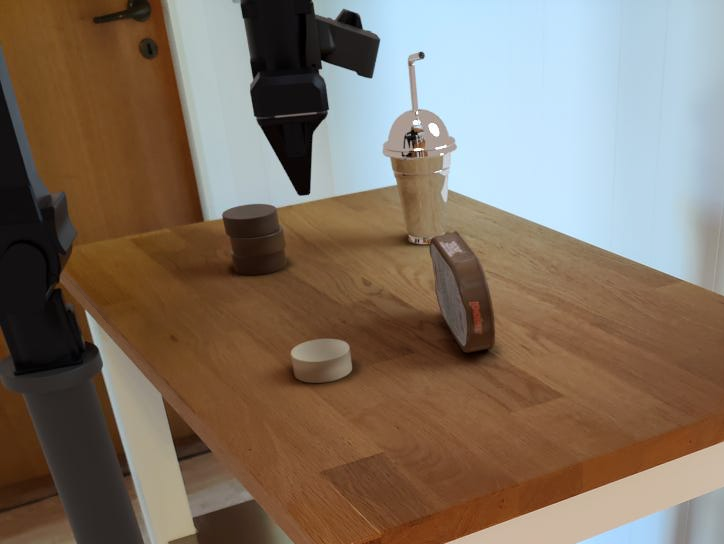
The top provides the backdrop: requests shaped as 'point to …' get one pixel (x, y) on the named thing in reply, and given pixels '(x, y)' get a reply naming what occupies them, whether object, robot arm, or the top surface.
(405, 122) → the cup with straw
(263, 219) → the chip pile
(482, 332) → the tin
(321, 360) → the birch chip
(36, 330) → the robot arm
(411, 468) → the top surface
